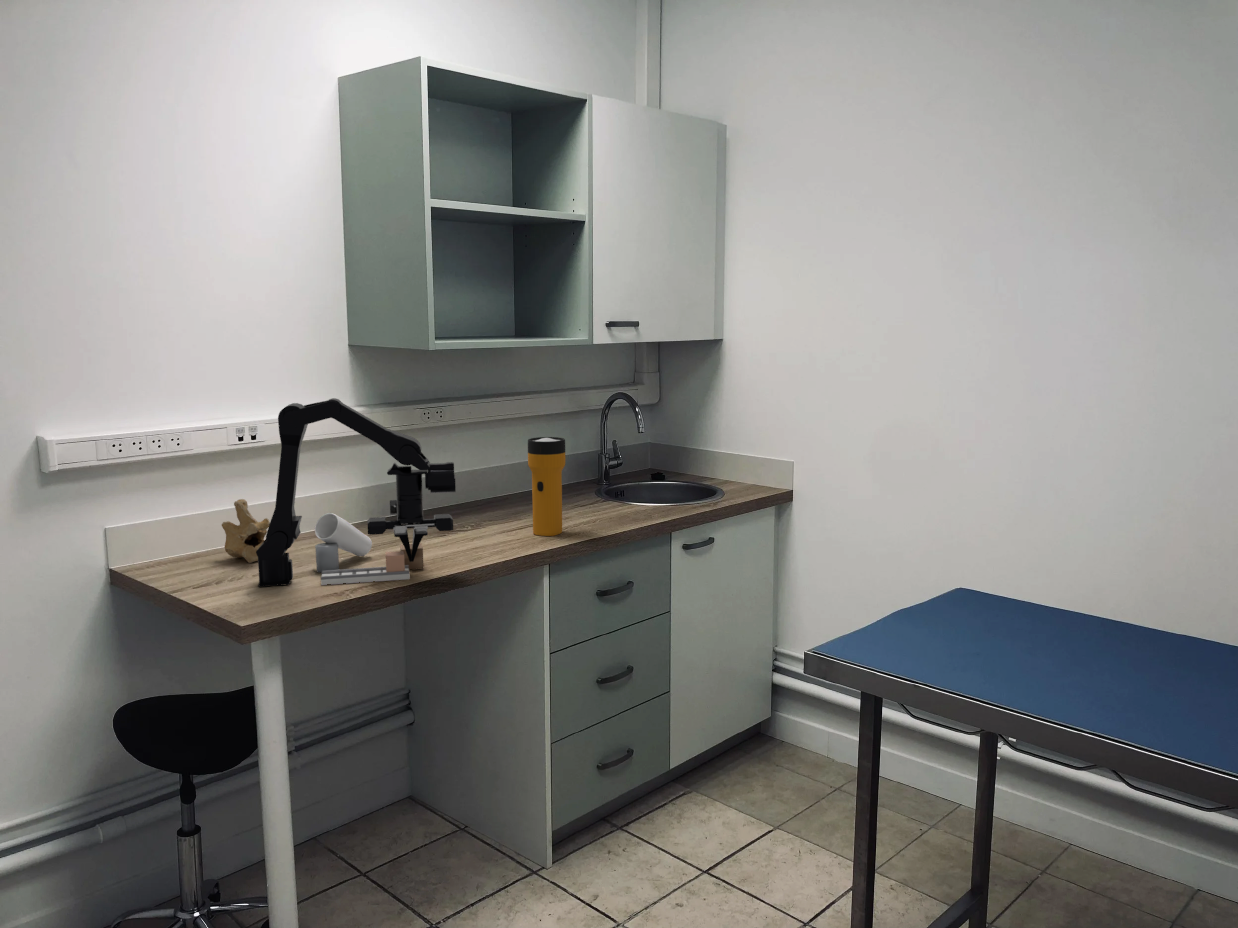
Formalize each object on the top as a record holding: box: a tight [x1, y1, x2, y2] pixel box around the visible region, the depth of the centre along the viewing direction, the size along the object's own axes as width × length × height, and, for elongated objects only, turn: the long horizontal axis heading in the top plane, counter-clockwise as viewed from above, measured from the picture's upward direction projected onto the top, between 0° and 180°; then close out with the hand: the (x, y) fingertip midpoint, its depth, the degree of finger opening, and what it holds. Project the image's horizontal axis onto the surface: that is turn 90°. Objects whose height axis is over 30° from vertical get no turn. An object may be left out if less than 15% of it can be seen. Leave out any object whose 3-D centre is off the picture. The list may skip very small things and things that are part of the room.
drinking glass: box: [314, 512, 373, 557], centre depth 232 cm, size 7×7×15 cm
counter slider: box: [385, 550, 405, 572], centre depth 219 cm, size 4×4×4 cm
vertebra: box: [221, 498, 271, 564], centre depth 234 cm, size 9×14×15 cm, turn 47°
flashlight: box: [527, 436, 566, 537], centre depth 260 cm, size 10×26×10 cm
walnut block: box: [399, 542, 425, 571], centre depth 228 cm, size 5×5×5 cm
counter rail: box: [320, 565, 411, 586], centre depth 218 cm, size 19×6×2 cm, turn 104°
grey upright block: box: [315, 542, 340, 574], centre depth 225 cm, size 5×5×6 cm
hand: (411, 561), depth 220 cm, fingers closed
